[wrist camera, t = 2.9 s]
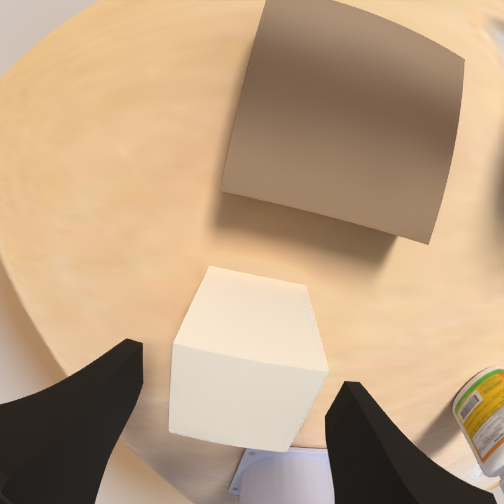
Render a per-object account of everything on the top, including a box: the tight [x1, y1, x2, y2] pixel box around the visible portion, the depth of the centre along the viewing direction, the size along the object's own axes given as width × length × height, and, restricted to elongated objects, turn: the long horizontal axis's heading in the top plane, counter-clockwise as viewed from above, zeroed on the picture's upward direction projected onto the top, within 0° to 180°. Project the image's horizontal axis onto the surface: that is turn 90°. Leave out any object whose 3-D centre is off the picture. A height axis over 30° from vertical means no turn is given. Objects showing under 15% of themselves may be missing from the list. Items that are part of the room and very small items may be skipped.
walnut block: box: [220, 0, 465, 245], centre depth 10 cm, size 8×8×3 cm
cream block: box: [169, 266, 329, 452], centre depth 11 cm, size 4×4×6 cm
